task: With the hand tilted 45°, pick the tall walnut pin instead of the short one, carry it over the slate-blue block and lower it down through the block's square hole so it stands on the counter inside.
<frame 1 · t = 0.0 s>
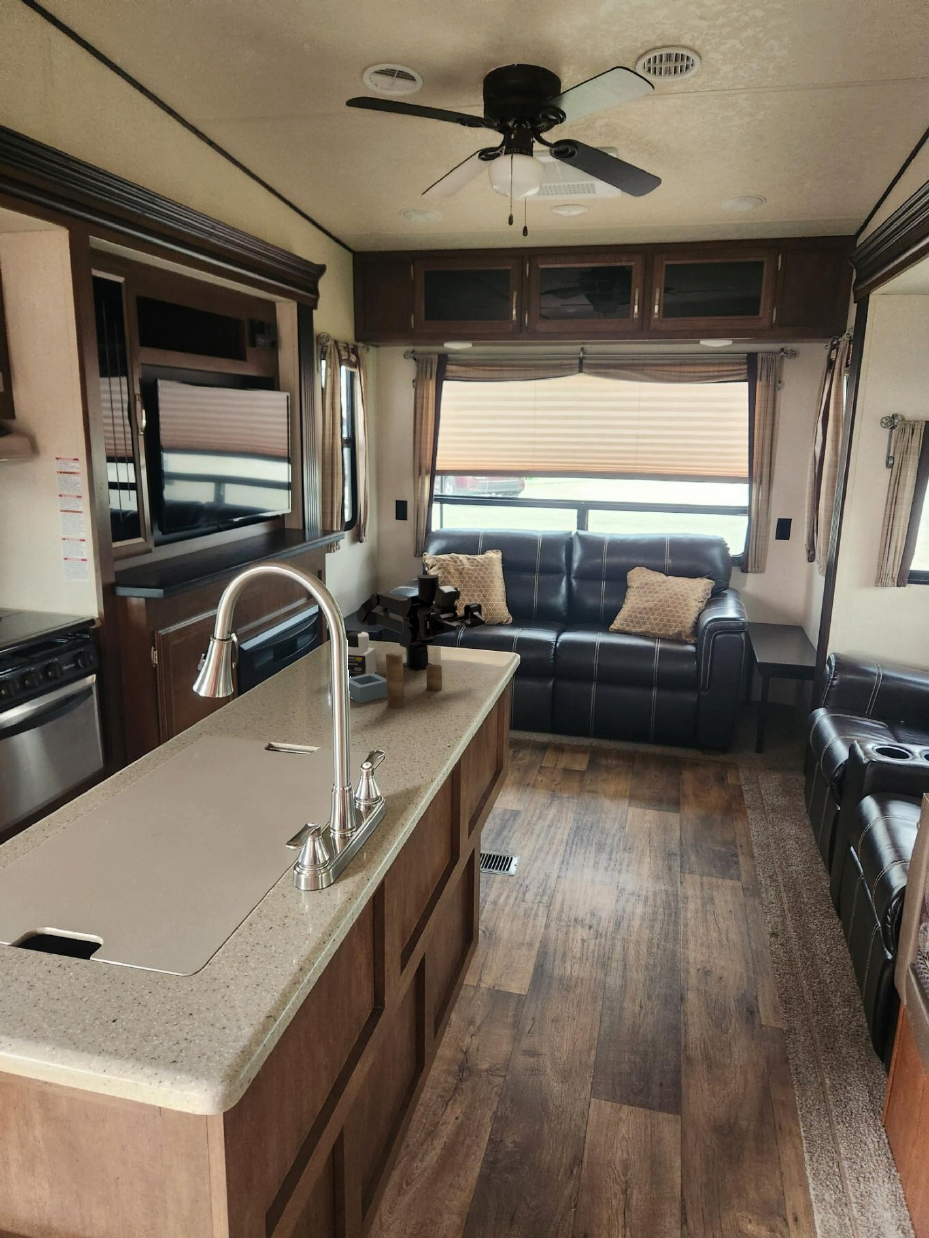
hand: (470, 625, 211), 17 cm above the worktop, tool horizontal, fingers open, 9 cm apart
medicine bottle: (359, 676, 227), on the worktop
socket block: (366, 695, 211), on the worktop
tall pin: (396, 705, 203), on the worktop
short pin: (434, 689, 214), on the worktop
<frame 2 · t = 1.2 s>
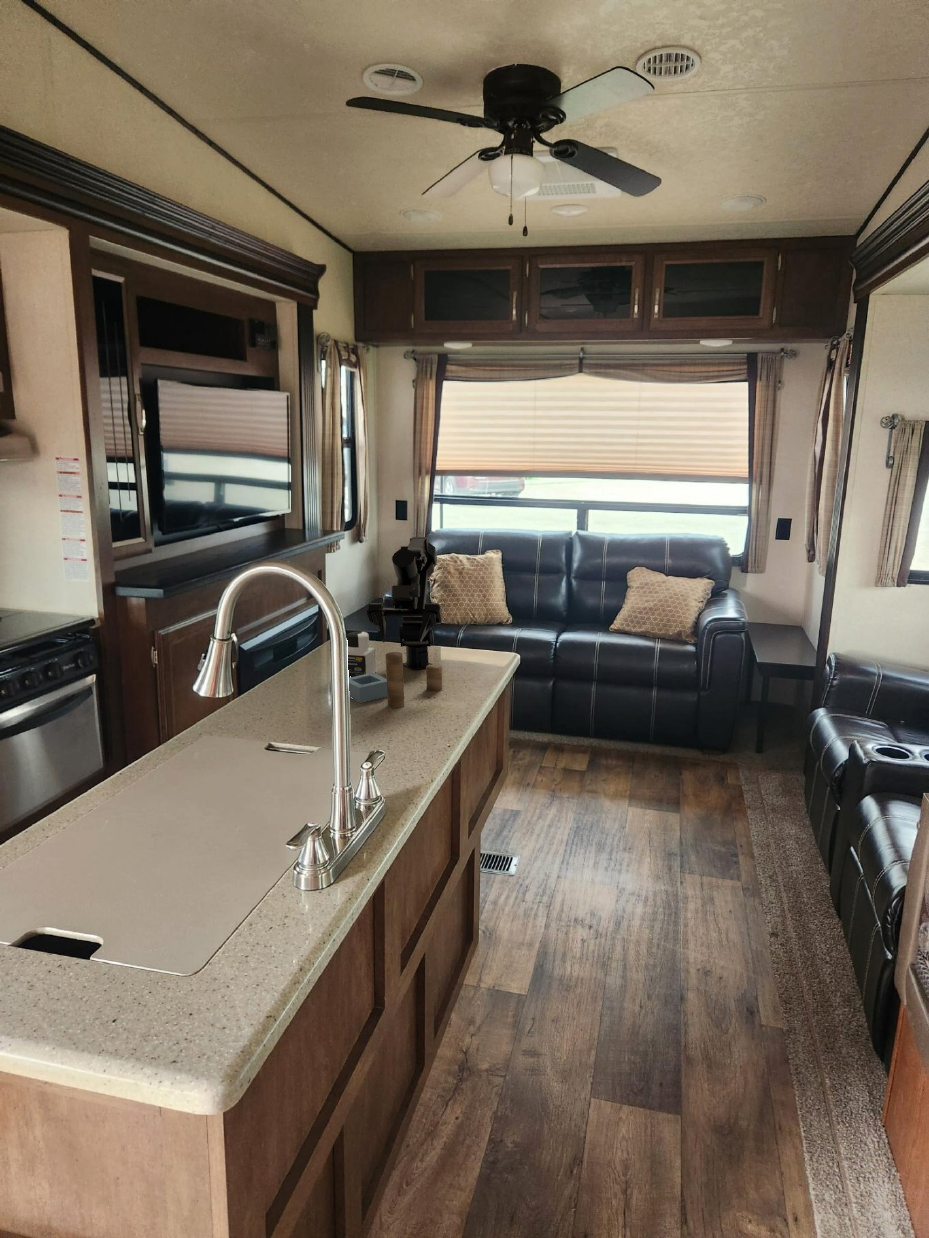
hand: (401, 641, 208), 14 cm above the worktop, tool tilted 45°, fingers open, 9 cm apart
nothing on the worktop moved.
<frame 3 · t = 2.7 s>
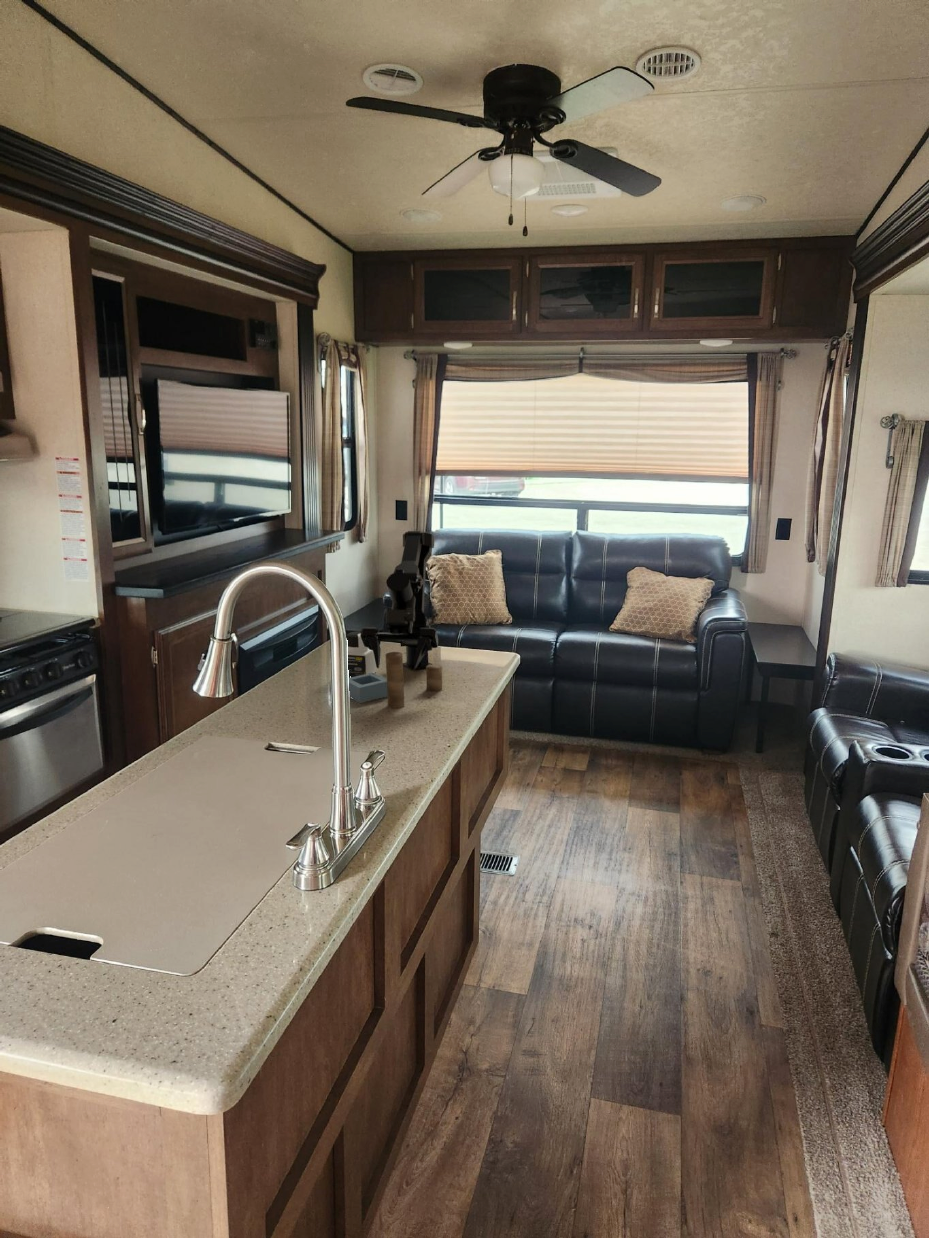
hand: (396, 667, 202), 9 cm above the worktop, tool tilted 45°, fingers open, 9 cm apart
nothing on the worktop moved.
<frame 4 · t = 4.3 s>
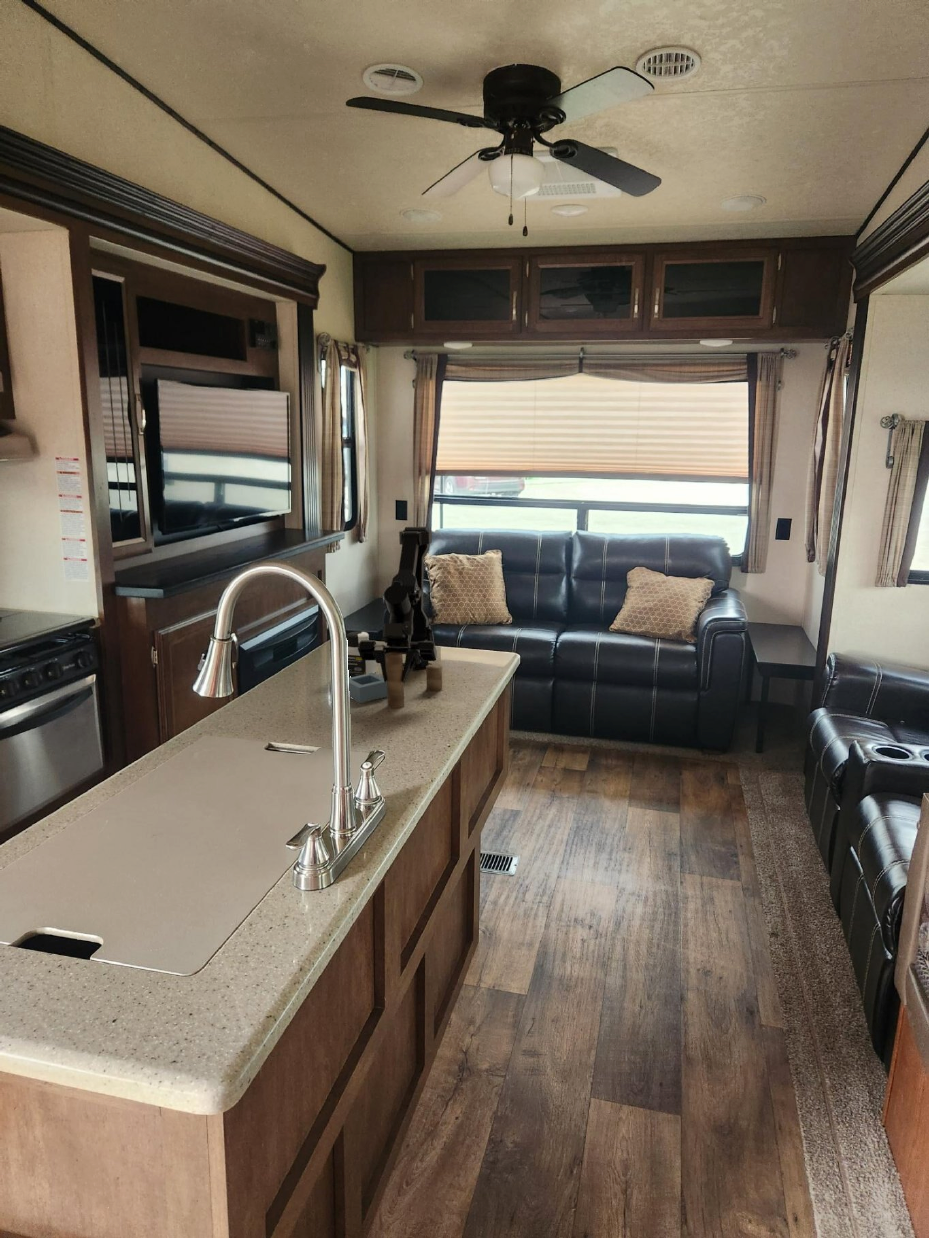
hand: (393, 681, 200), 7 cm above the worktop, tool tilted 45°, fingers closed on tall pin, 4 cm apart
tall pin: (396, 705, 203), on the worktop, touching gripper
everything else where it was.
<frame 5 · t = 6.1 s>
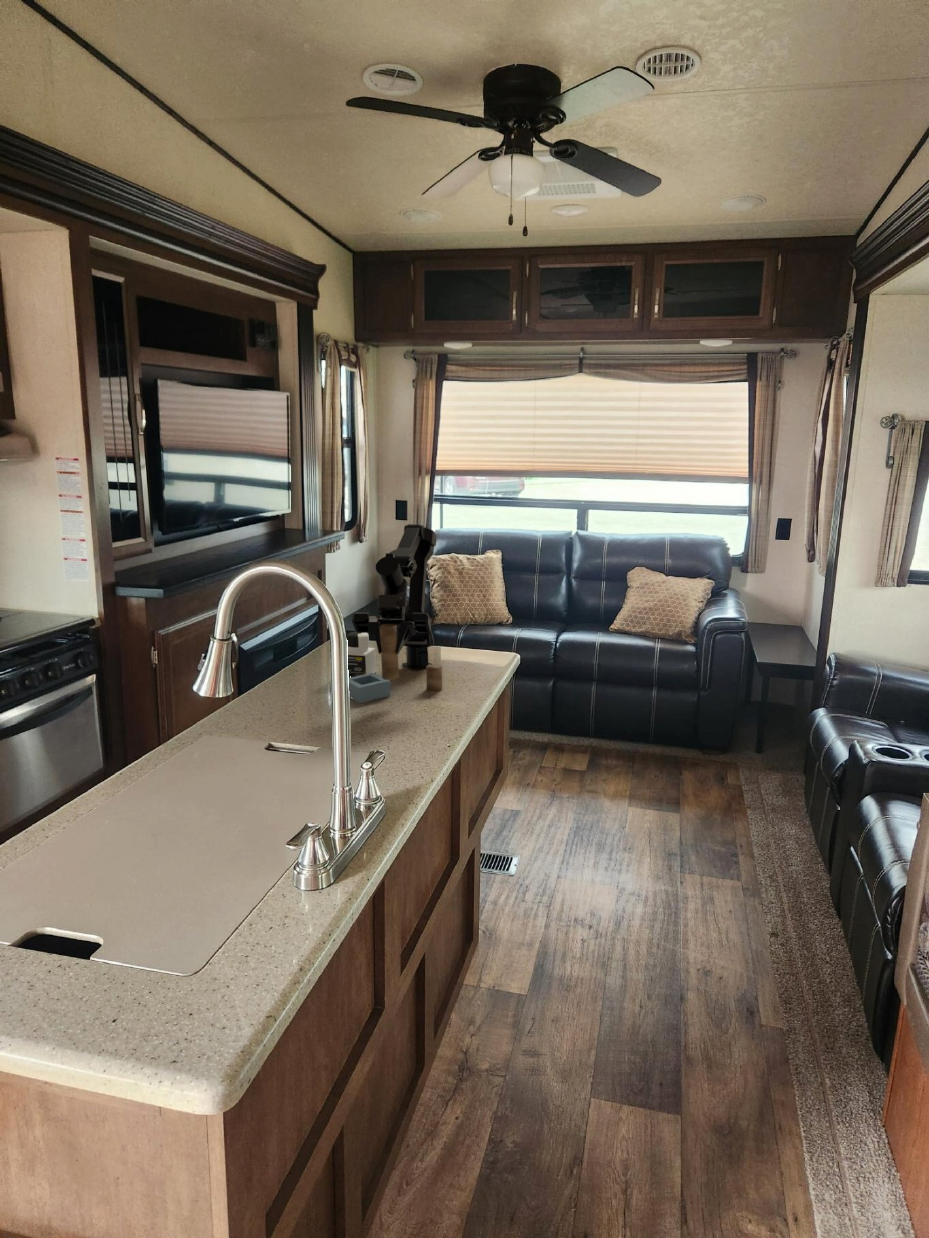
hand: (388, 653, 200), 13 cm above the worktop, tool tilted 45°, fingers closed on tall pin, 4 cm apart
tall pin: (390, 677, 203), point 7 cm above the worktop, touching gripper
everything else where it was.
when the fingers open (9 cm above the worktop, at t = 8.3 s): tall pin drops 2 cm, resting in socket block.
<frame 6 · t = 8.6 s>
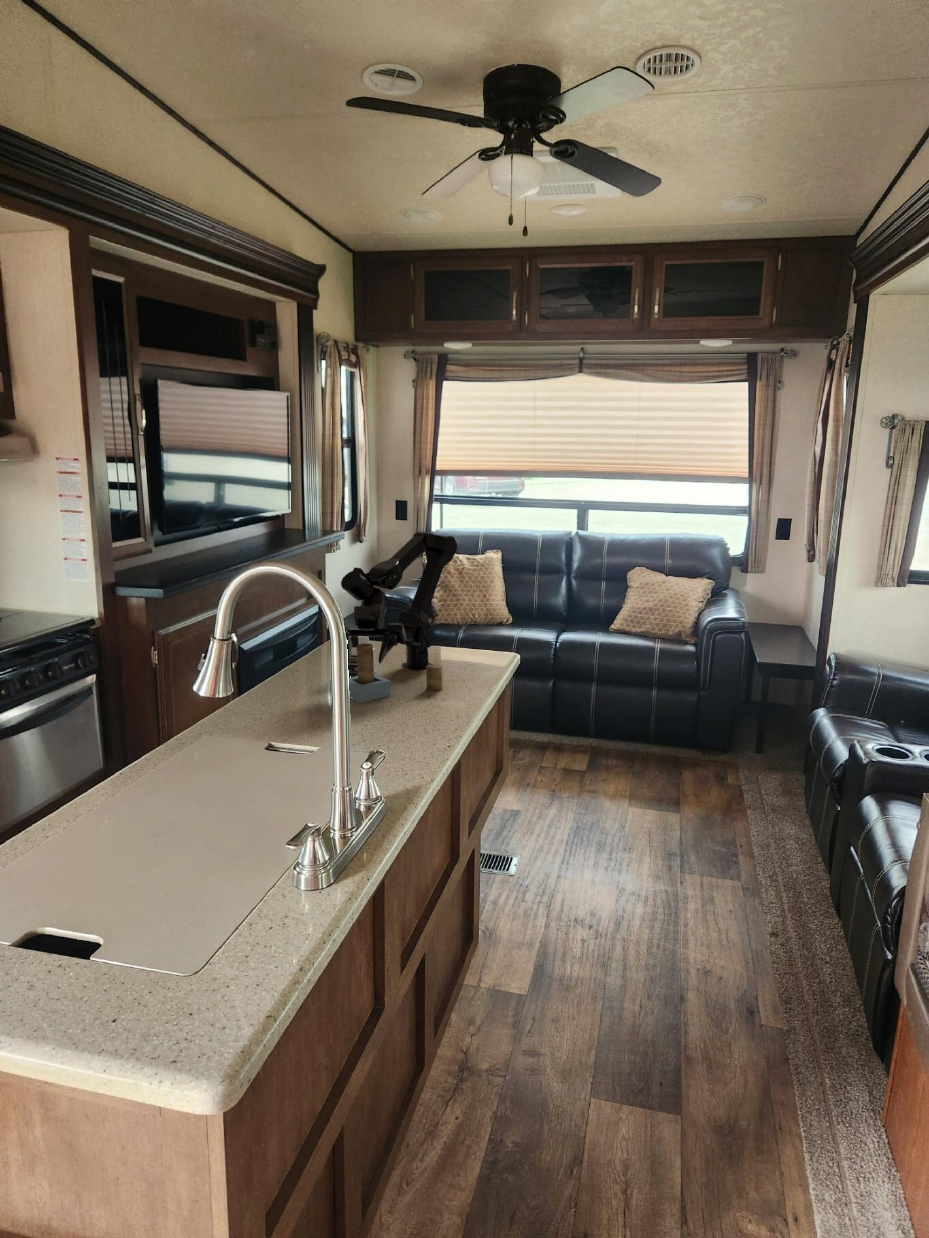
hand: (363, 662, 207), 9 cm above the worktop, tool tilted 45°, fingers open, 8 cm apart
tall pin: (367, 695, 211), resting in socket block
everything else where it was.
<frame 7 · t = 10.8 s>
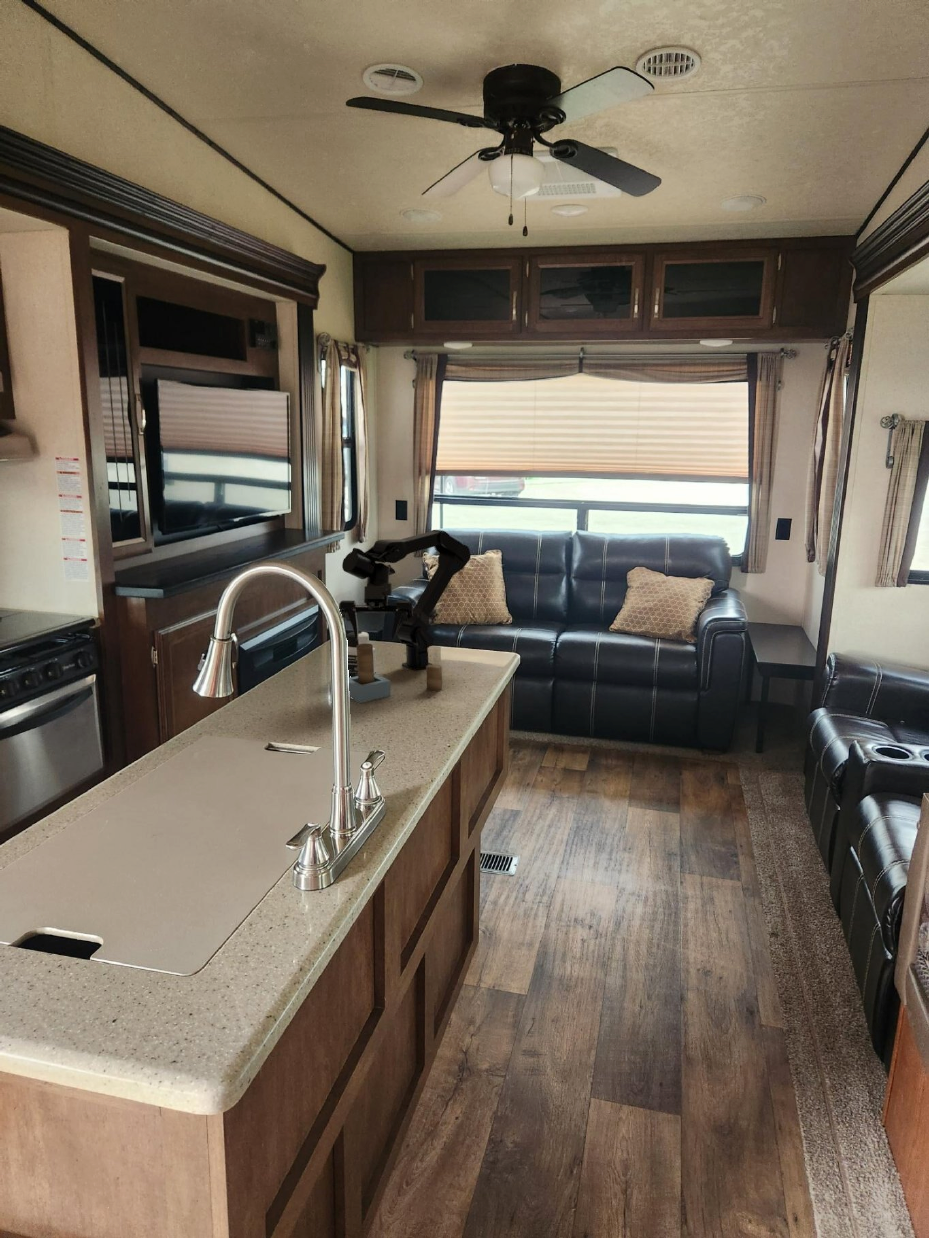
hand: (374, 640, 213), 13 cm above the worktop, tool tilted 35°, fingers open, 9 cm apart
nothing on the worktop moved.
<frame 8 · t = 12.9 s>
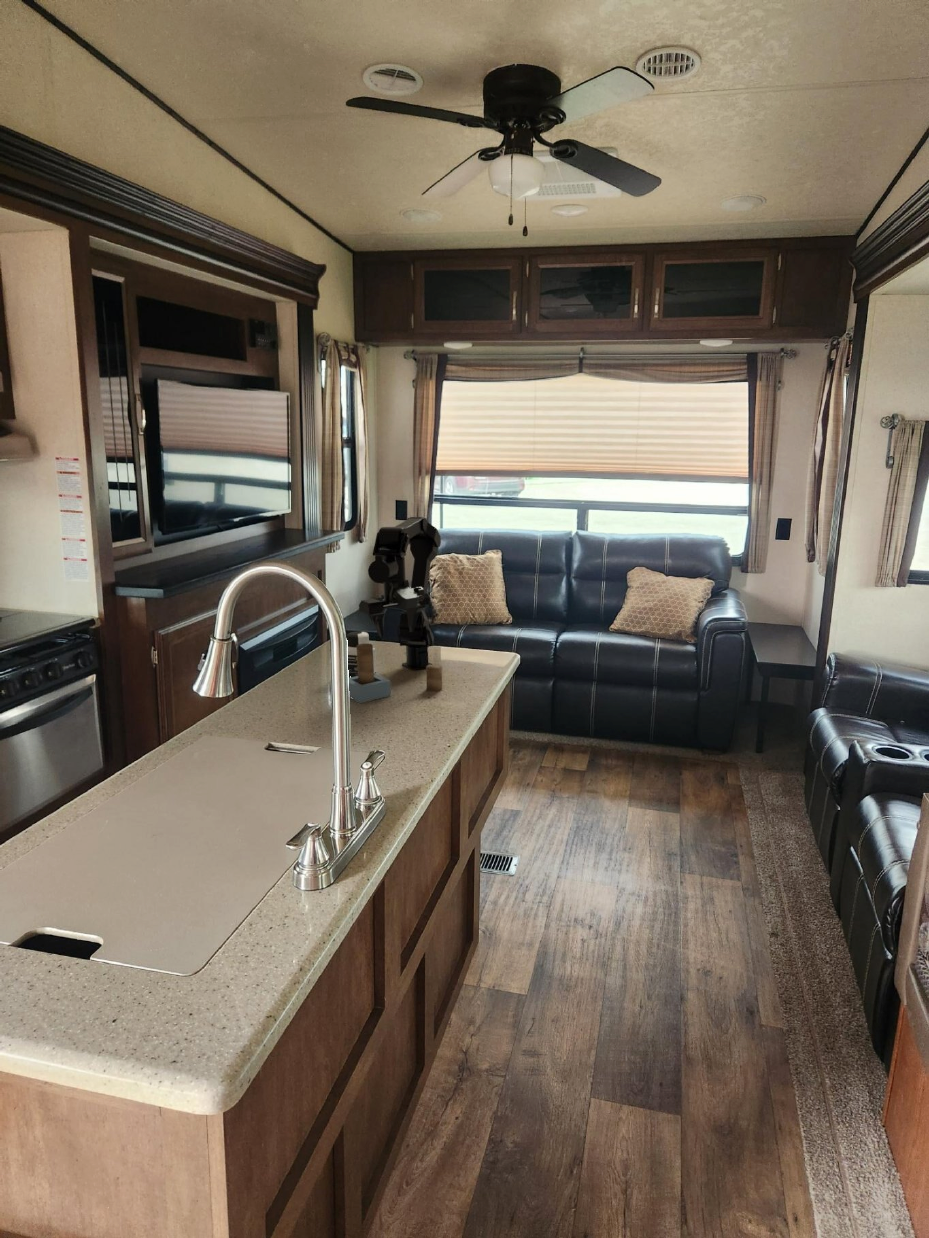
hand: (396, 634, 218), 13 cm above the worktop, tool pointing down, fingers open, 9 cm apart
nothing on the worktop moved.
at the end: tall pin 0.0 cm off-centre on the socket block, point 0.0 cm above the socket block's base; tall pin tilted 0°; short pin moved 0.0 cm from its start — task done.
